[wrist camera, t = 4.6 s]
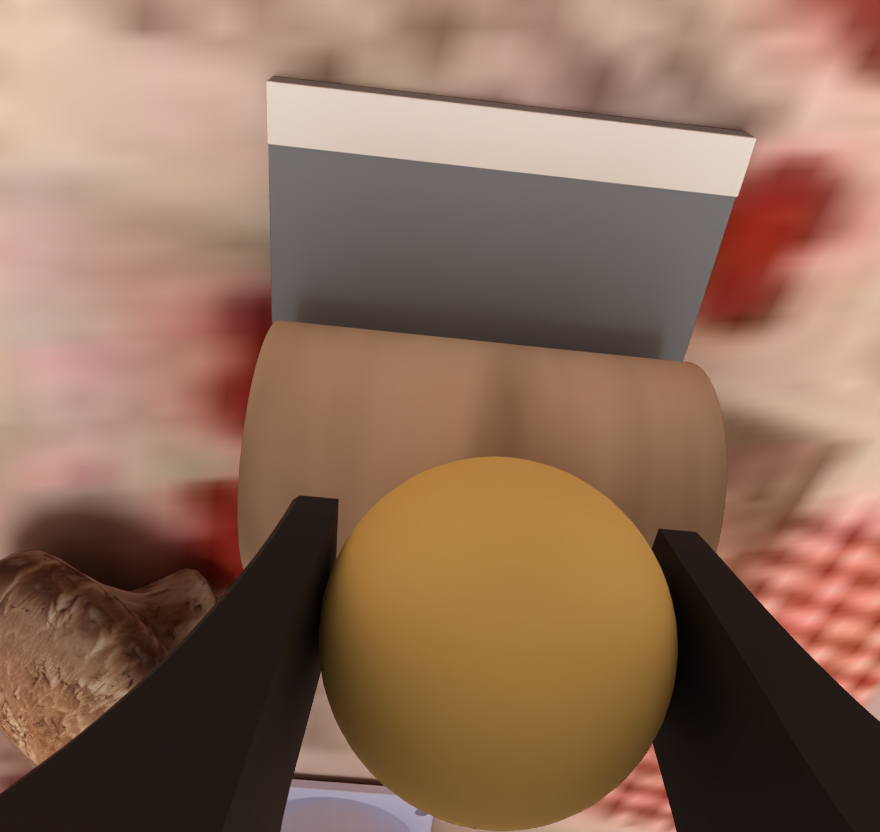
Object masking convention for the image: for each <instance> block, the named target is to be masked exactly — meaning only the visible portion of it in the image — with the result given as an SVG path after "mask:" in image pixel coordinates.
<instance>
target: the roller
mask: <svg viewBox="0 0 880 832" xmlns="http://www.w3.org/2000/svg"><path fill="white" fill-rule="evenodd" d="M492 456H495V457H512V458H519V459H525V460H530V461H534V462H538V463H542V464H545V465H549V466H552V467H555V468H557V469H560V470H562V471H565V472H568V473H570V474H572V475H573V476H575V477H577V478H579V479H581V480H583V481H584V482H586V483H588V484H589V485H591V486H592V487H594V488H595V489H596V490H598V491H599V492H601V493H602V494H603V495H605V496H606V497H607V498H609V499H610V500H611V501H612V502H613V503H614V504H615V505H616V506H617V507H618V508H619V509H620V510H621V511H622V512H623V513H624V514H625V515H626V516H627V517H628V518H629V519H630V520H631V521H632V522H633V523H634V525H635V526H636V527H637V529H638V530H639V531H640V533H641V534H642V535H643V537H644V538H645V540H646V542H647V543H648V545H649V546H650V548H651V549H652V546H653V543H654V540H655V538H656V535H657V532H658V529H670V530H681V531H691V532H697V533H698V534H699V535H700V536H701V537H702V538H703V539H704V540H705V541H706V543H707V544H708V545H709V546H710V547H711V548H712V549H713V550H714V551H715V553H716V550H717V546H718V542H719V538H720V533H721V528H722V522H723V515H724V508H725V497H726V482H727V455H726V440H725V430H724V424H723V418H722V413H721V409H720V405H719V401H718V398H717V395H716V392H715V389H714V387H713V385H712V383H711V381H710V379H709V378H708V376H707V375H706V373H705V372H704V371H703V370H702V369H701V368H700V367H699V366H698V365H696V364H694V363H690V362H680V361H670V360H661V359H651V358H641V357H632V356H622V355H612V354H602V353H593V352H583V351H573V350H563V349H554V348H544V347H534V346H524V345H515V344H505V343H495V342H485V341H476V340H466V339H456V338H446V337H437V336H427V335H417V334H408V333H398V332H388V331H378V330H369V329H359V328H349V327H339V326H330V325H320V324H310V323H300V322H291V321H281V320H277V321H276V322H274V323H273V325H272V326H271V327H270V329H269V331H268V333H267V335H266V337H265V339H264V342H263V344H262V347H261V350H260V353H259V356H258V360H257V364H256V367H255V371H254V375H253V380H252V384H251V389H250V394H249V399H248V405H247V411H246V417H245V423H244V431H243V438H242V447H241V457H240V468H239V482H238V539H239V550H240V556H241V561H242V565H243V569H245V568H246V566H247V565H248V564H249V563H250V561H251V560H252V559H253V558H254V556H255V555H256V554H257V552H258V551H259V550H260V548H261V547H262V545H263V544H264V543H265V541H266V540H267V539H268V537H269V536H270V534H271V533H272V532H273V530H274V529H275V527H276V526H277V524H278V523H279V521H280V520H281V518H282V516H283V515H284V513H285V512H286V510H287V508H288V507H289V505H290V503H291V502H292V500H293V499H295V498H296V497H298V496H299V495H302V496H313V497H324V498H335V499H339V505H338V529H337V554H336V559H337V557H338V555H339V553H340V551H341V549H342V547H343V546H344V544H345V542H346V540H347V538H348V537H349V535H350V534H351V532H352V531H353V530H354V528H355V527H356V526H357V524H358V523H359V522H360V521H361V519H362V518H363V517H364V516H365V515H366V514H367V512H368V511H369V510H370V509H371V508H372V507H373V506H374V505H375V504H376V503H377V502H378V501H379V500H380V499H382V498H383V497H384V496H386V495H387V494H388V493H390V492H391V491H392V490H394V489H395V488H397V487H398V486H399V485H401V484H402V483H403V482H405V481H407V480H409V479H410V478H412V477H414V476H416V475H418V474H420V473H422V472H424V471H427V470H429V469H432V468H434V467H437V466H440V465H444V464H447V463H451V462H454V461H458V460H463V459H469V458H475V457H492Z"/></svg>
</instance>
